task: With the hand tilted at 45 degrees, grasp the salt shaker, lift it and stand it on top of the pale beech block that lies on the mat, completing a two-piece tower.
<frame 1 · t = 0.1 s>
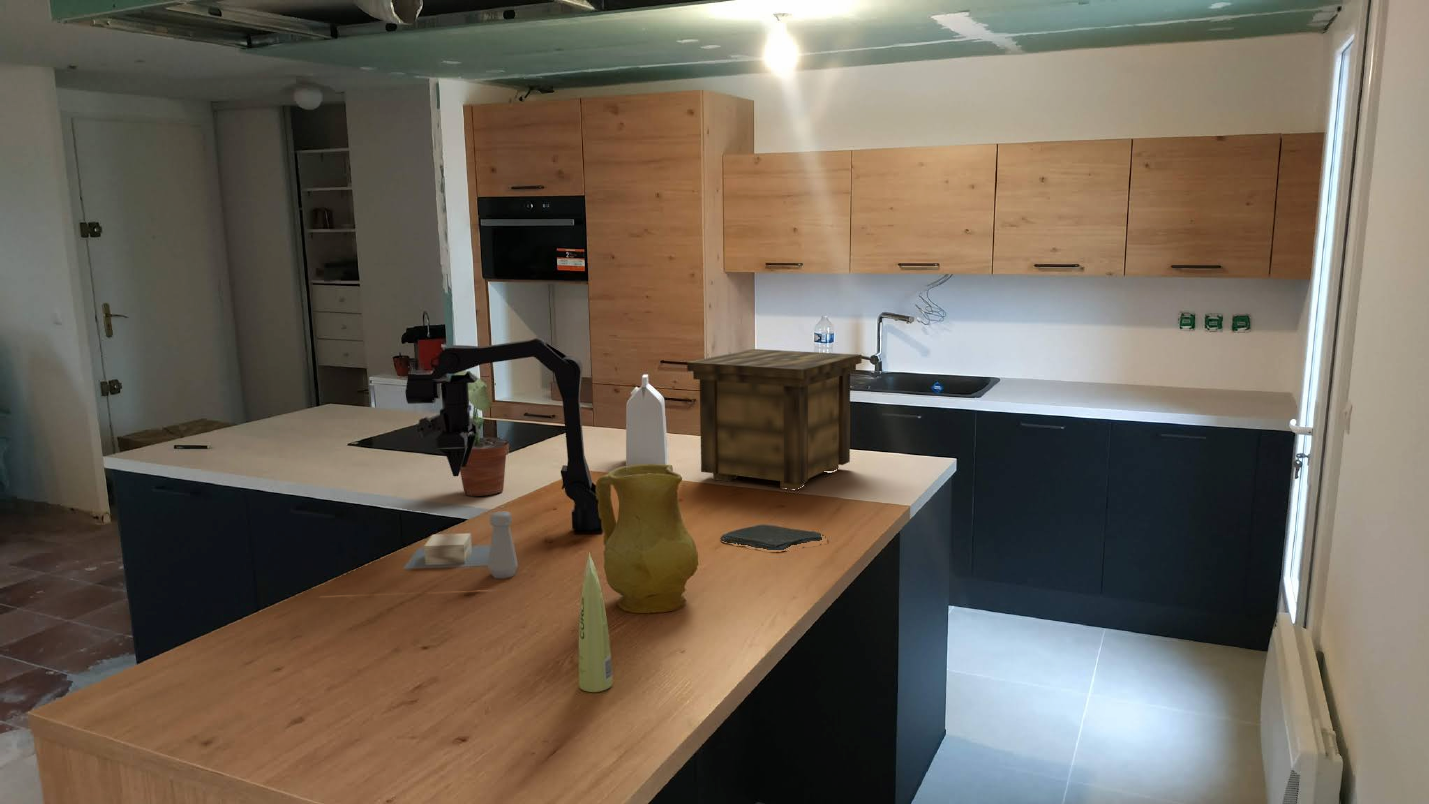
hand: (459, 471, 224), 15 cm above the counter, tool pointing down, fingers open, 9 cm apart
potted plant: (483, 494, 263), on the counter
stone slab: (774, 544, 218), on the counter
salt shaker: (503, 577, 198), on the counter
mat: (454, 557, 210), on the counter
milk: (647, 463, 296), on the counter
beech block: (449, 558, 209), resting on mat
tube: (596, 686, 149), on the counter
crate: (776, 475, 278), on the counter
pitcher: (650, 600, 183), on the counter
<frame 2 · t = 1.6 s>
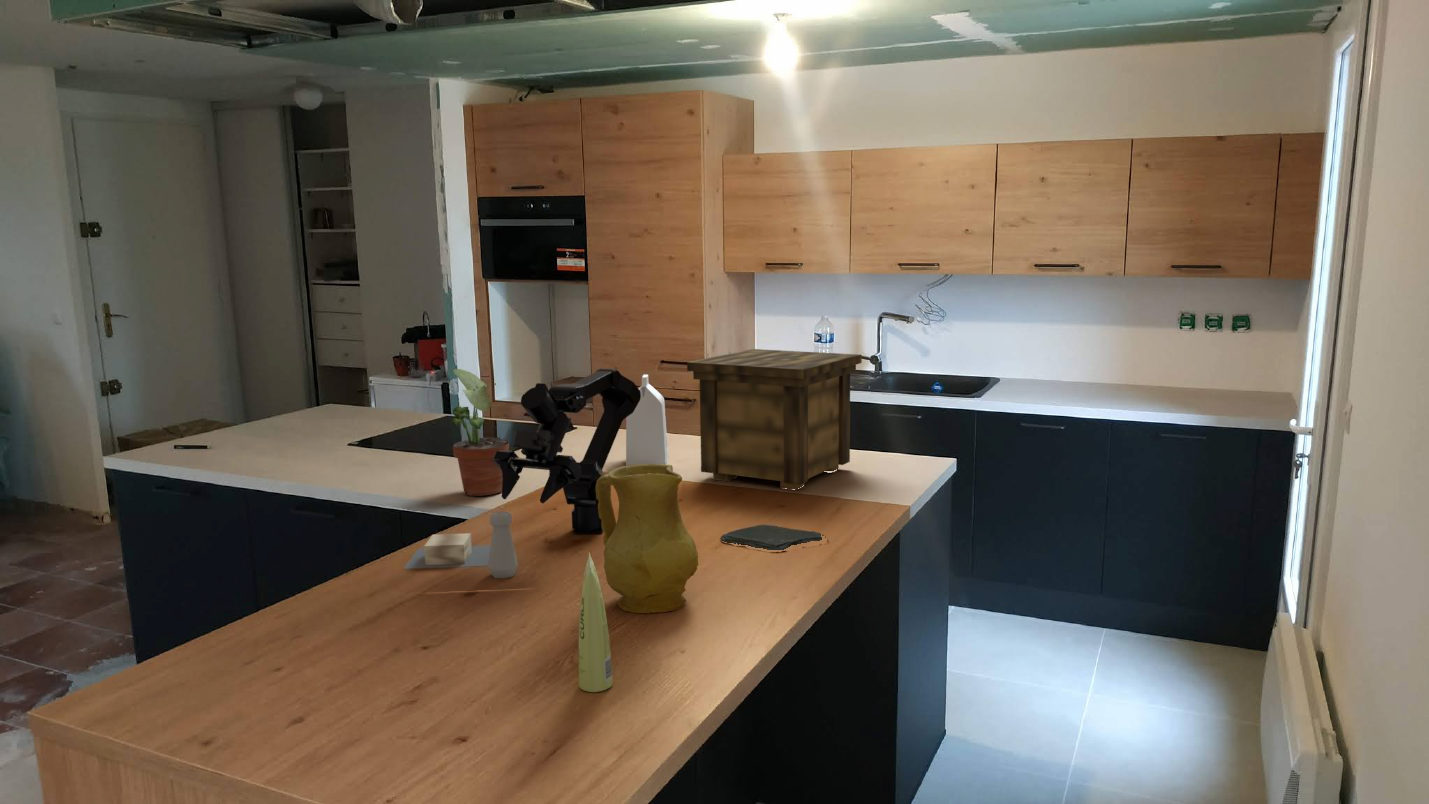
hand: (522, 500, 203), 13 cm above the counter, tool tilted 45°, fingers open, 9 cm apart
nothing on the counter moved.
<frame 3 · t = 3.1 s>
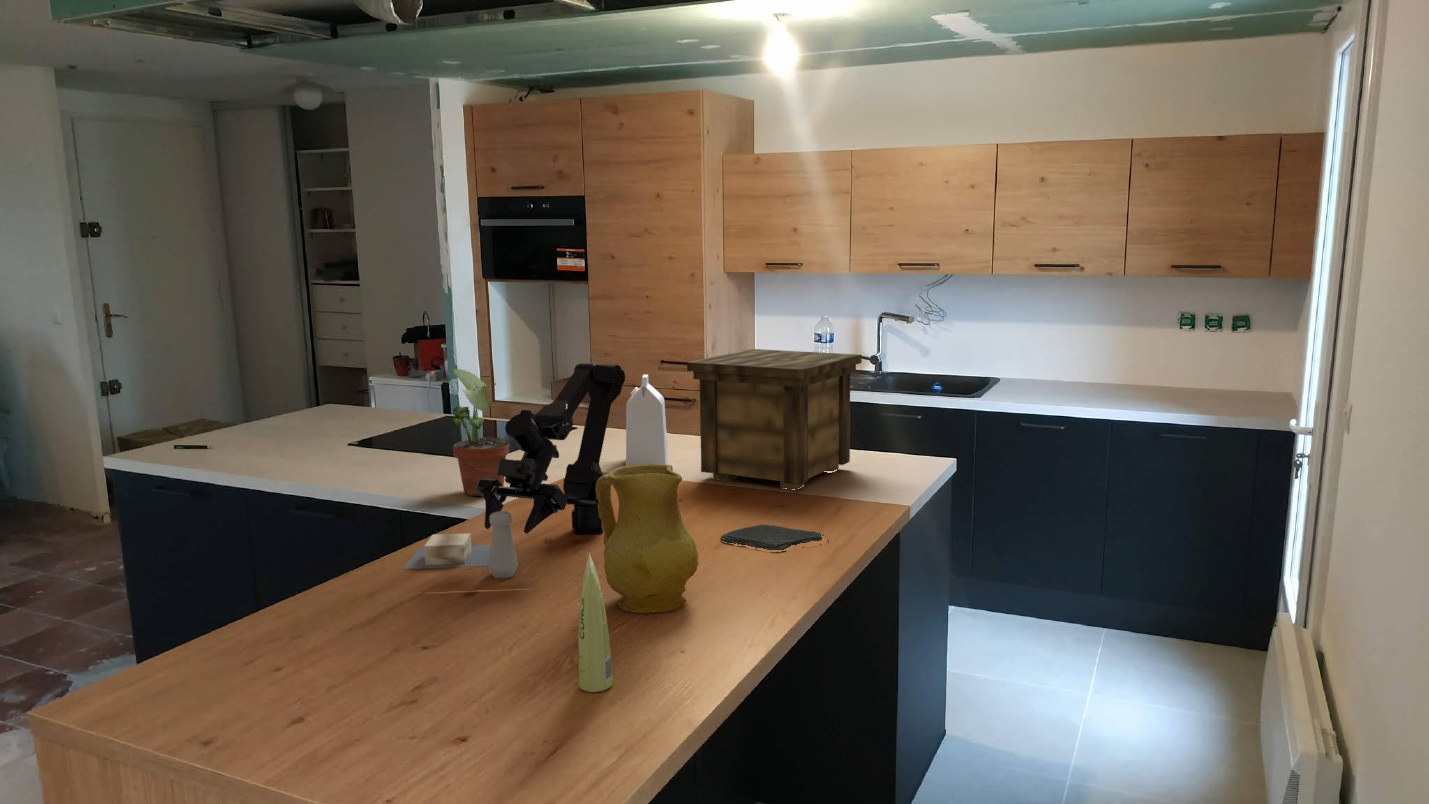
hand: (505, 530, 197), 9 cm above the counter, tool tilted 45°, fingers open, 9 cm apart
nothing on the counter moved.
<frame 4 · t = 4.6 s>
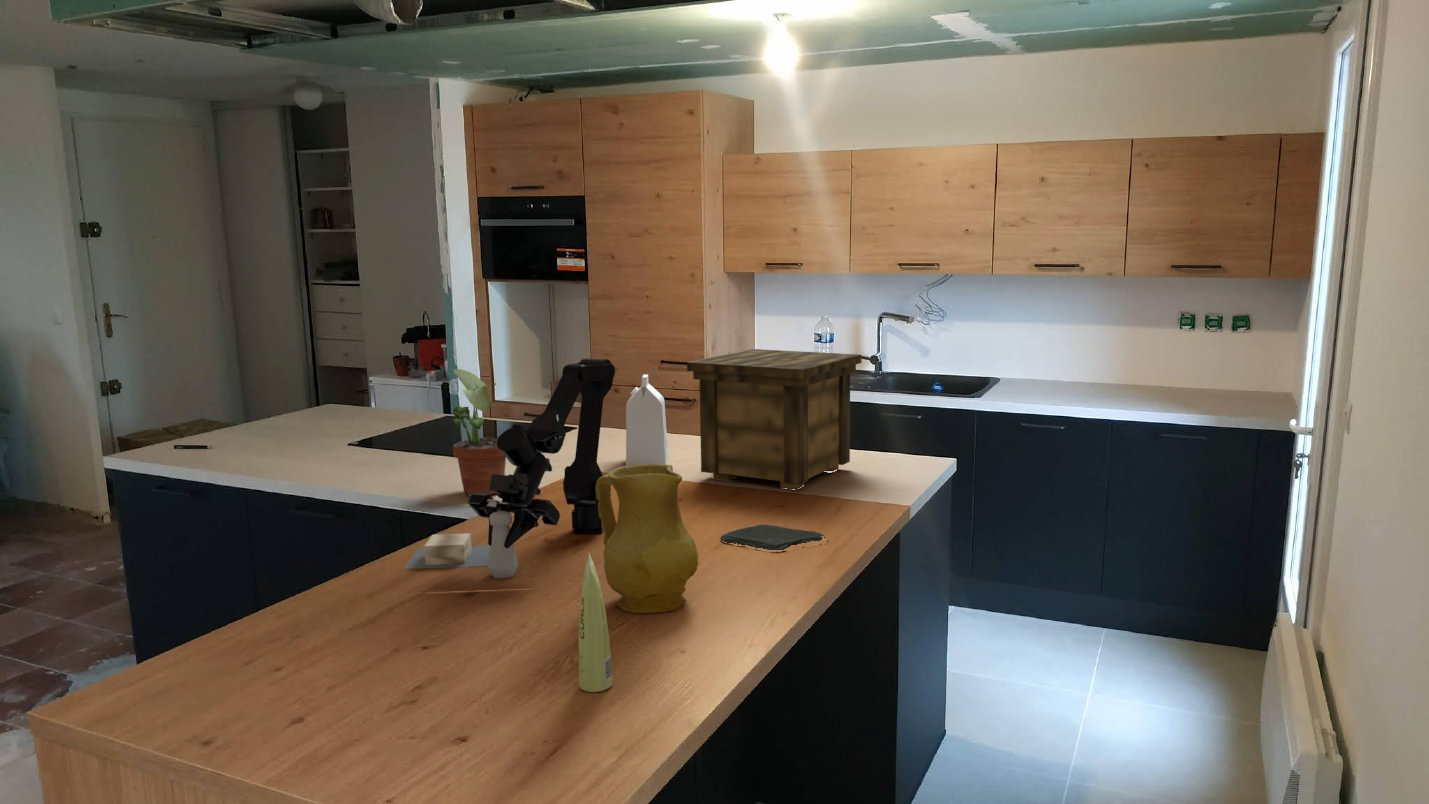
hand: (497, 546, 195), 7 cm above the counter, tool tilted 45°, fingers closed on salt shaker, 3 cm apart
salt shaker: (503, 577, 198), on the counter, touching gripper
everything else where it was.
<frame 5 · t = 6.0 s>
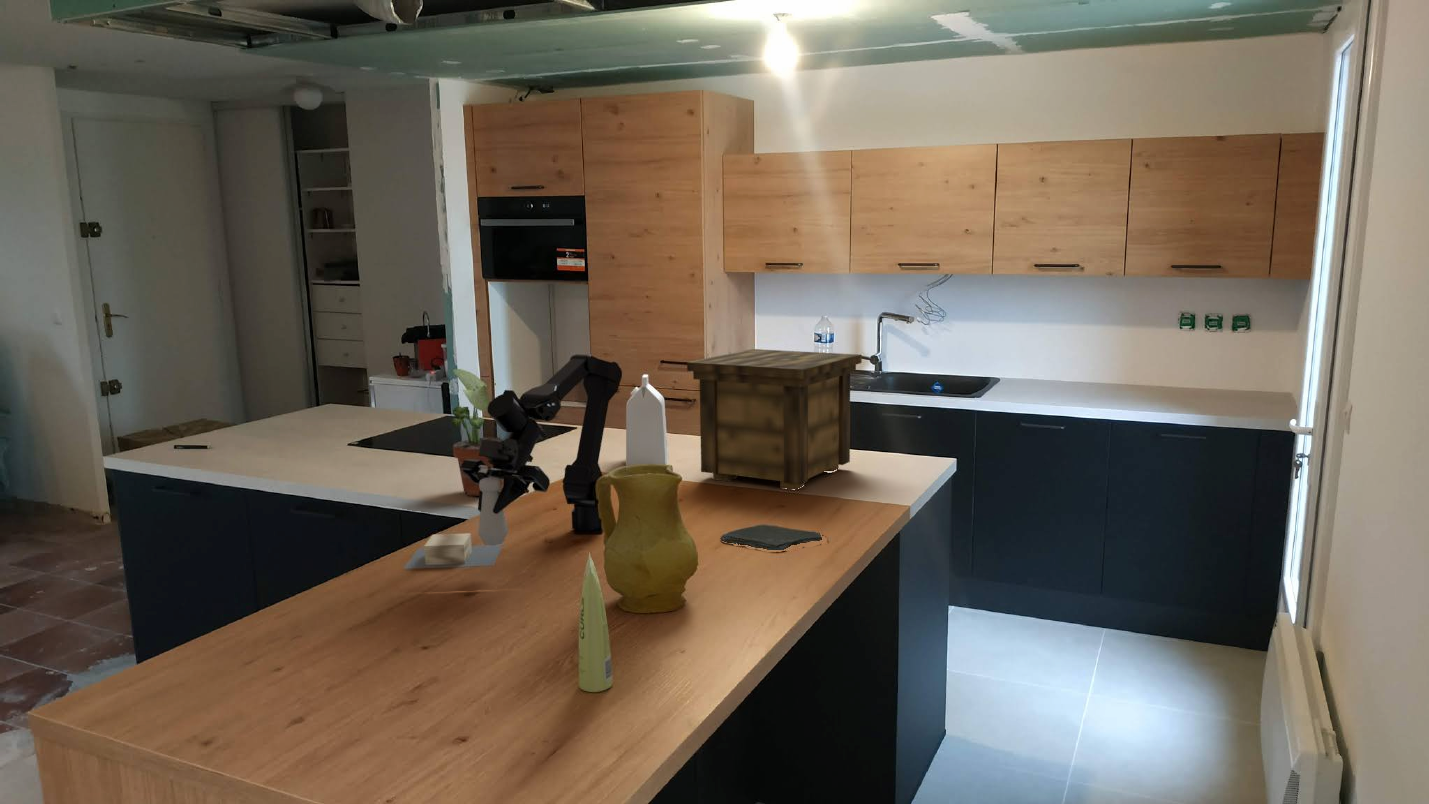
hand: (487, 511, 195), 13 cm above the counter, tool tilted 45°, fingers closed on salt shaker, 3 cm apart
salt shaker: (493, 543, 198), point 6 cm above the counter, touching gripper
everything else where it was.
when the fingers open (12 cm above the counter, at t = 7.7 s): salt shaker stays where it is, resting on beech block.
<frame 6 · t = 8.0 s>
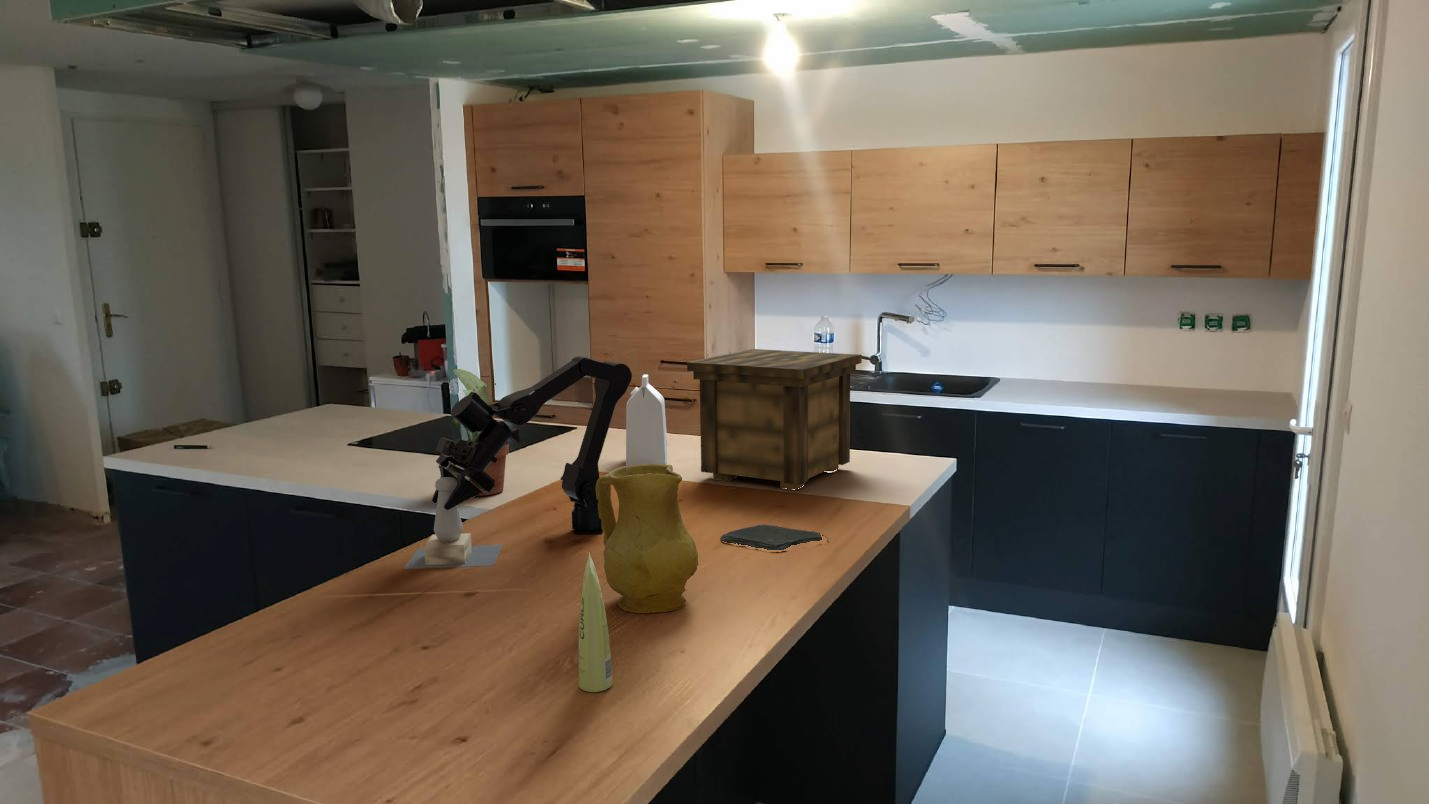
hand: (439, 505, 206), 12 cm above the counter, tool tilted 45°, fingers open, 6 cm apart
salt shaker: (448, 540, 208), point 4 cm above the counter, touching beech block
beech block: (449, 558, 209), resting on mat, touching salt shaker
everything else where it was.
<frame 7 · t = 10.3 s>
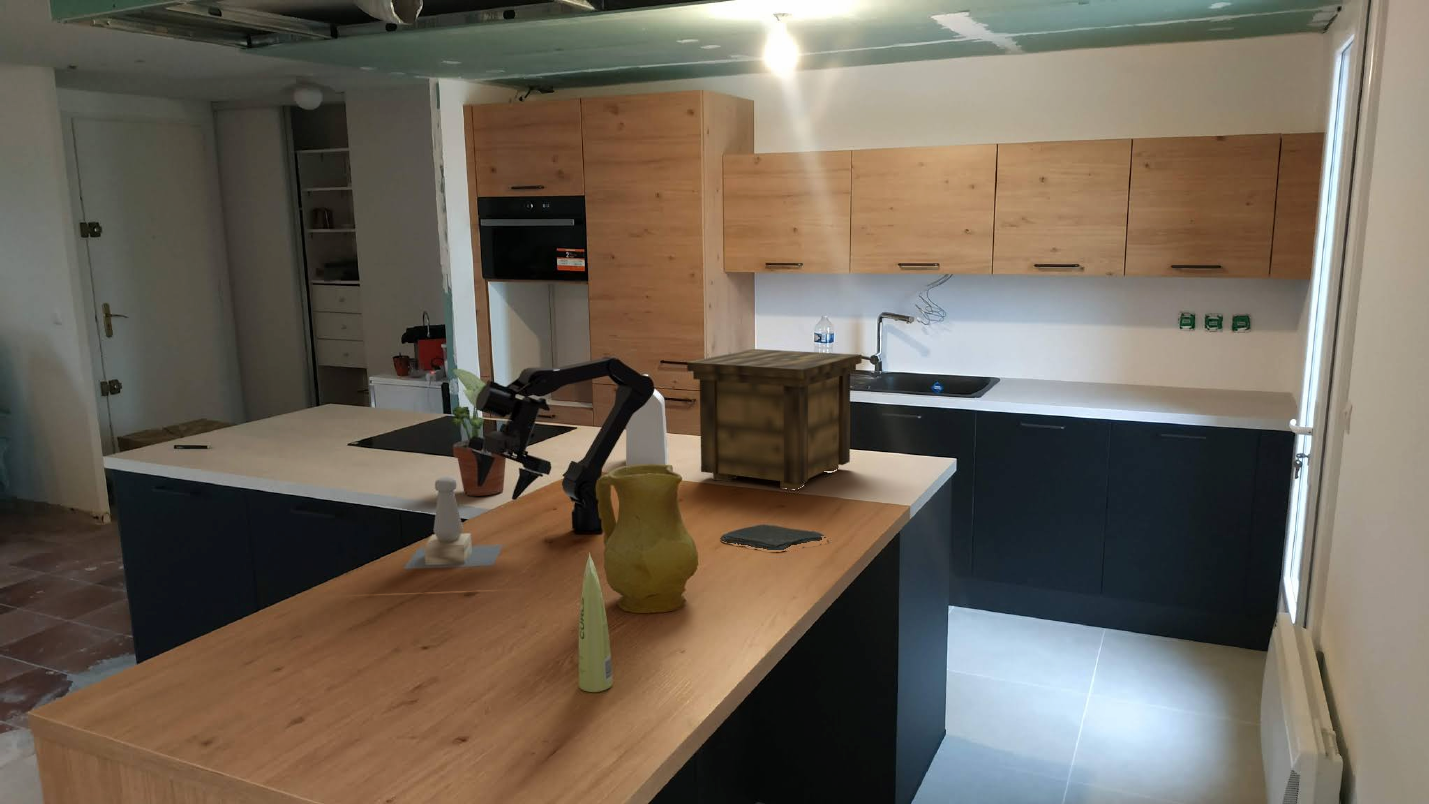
hand: (496, 493, 214), 12 cm above the counter, tool tilted 25°, fingers open, 9 cm apart
nothing on the counter moved.
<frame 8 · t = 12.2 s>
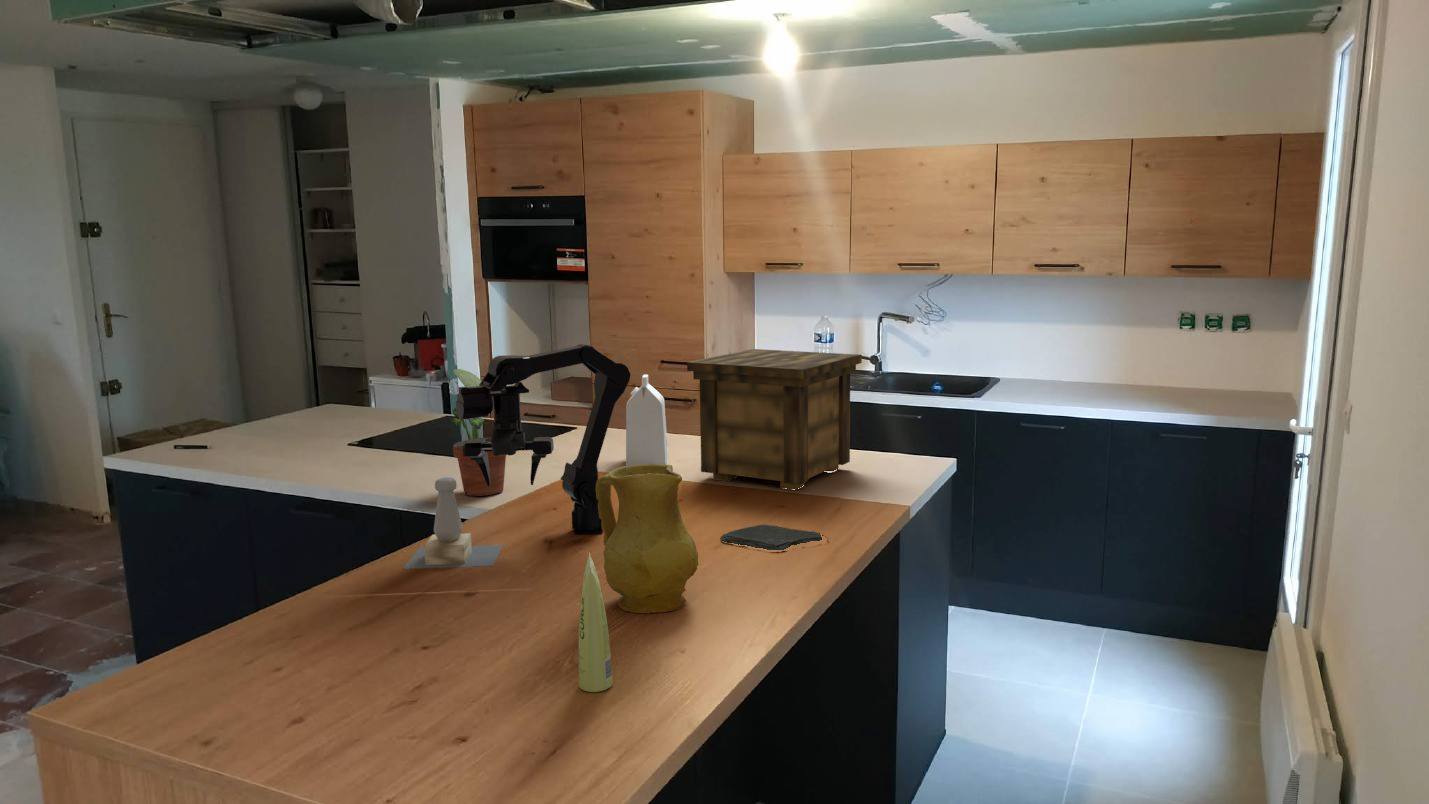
hand: (510, 485, 217), 13 cm above the counter, tool pointing down, fingers open, 9 cm apart
nothing on the counter moved.
at the end: salt shaker inside the target area on the beech block (0.2 cm from its centre), point 3.8 cm above the beech block's base; salt shaker tilted 0°; the gripper is holding nothing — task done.
